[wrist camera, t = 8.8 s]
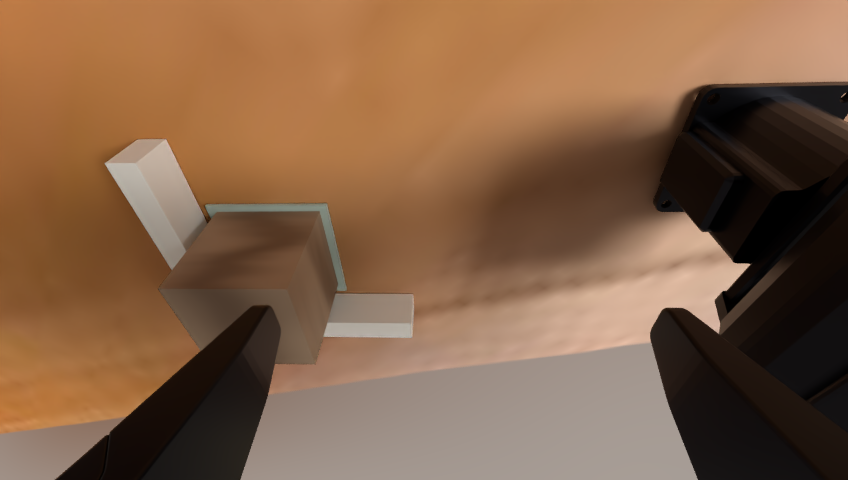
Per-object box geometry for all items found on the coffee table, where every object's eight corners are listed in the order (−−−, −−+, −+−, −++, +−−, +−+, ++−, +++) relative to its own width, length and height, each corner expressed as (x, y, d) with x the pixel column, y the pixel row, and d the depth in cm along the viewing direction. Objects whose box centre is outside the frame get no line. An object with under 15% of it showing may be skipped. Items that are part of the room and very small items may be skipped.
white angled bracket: (401, 135, 19) (396, 160, 17) (414, 317, 28) (412, 346, 26) (137, 139, 20) (104, 163, 18) (233, 315, 29) (218, 344, 27)
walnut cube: (319, 211, 22) (286, 289, 17) (338, 284, 26) (315, 364, 21) (217, 211, 22) (158, 288, 18) (250, 284, 26) (209, 362, 21)
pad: (327, 203, 22) (326, 205, 22) (346, 288, 26) (346, 290, 26) (206, 204, 22) (204, 206, 22) (246, 288, 27) (245, 290, 26)
